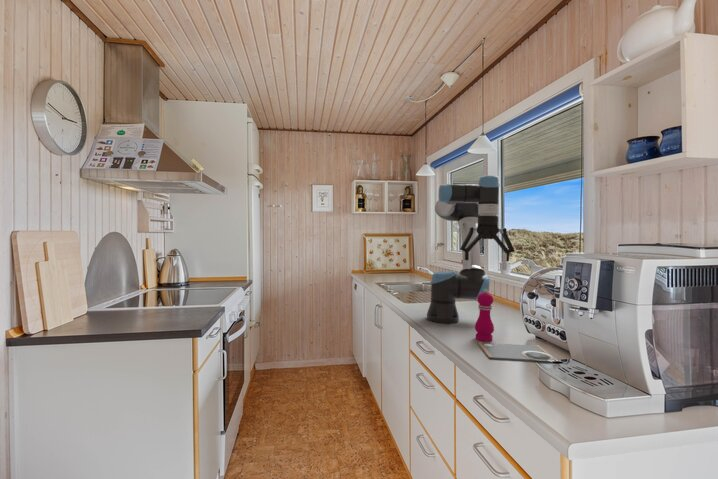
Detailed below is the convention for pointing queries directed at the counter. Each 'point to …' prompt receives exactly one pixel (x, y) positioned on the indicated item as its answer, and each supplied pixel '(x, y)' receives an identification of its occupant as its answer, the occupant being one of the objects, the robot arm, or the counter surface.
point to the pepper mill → (484, 317)
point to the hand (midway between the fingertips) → (486, 269)
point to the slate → (515, 352)
